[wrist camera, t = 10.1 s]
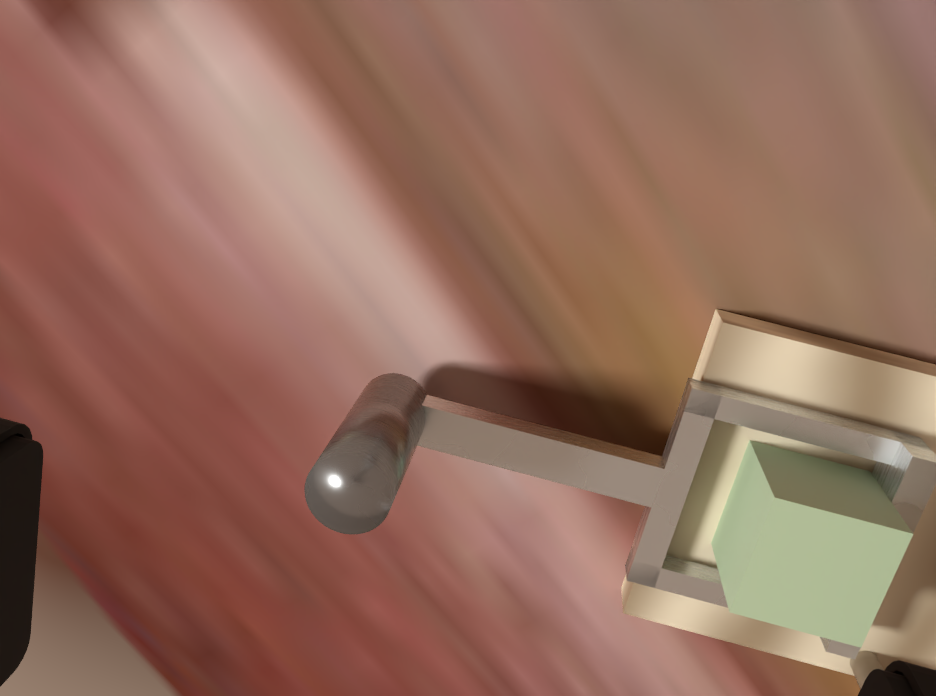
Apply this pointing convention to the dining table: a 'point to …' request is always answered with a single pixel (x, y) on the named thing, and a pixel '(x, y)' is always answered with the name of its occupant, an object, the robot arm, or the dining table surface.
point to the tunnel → (833, 392)
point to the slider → (592, 464)
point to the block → (808, 544)
